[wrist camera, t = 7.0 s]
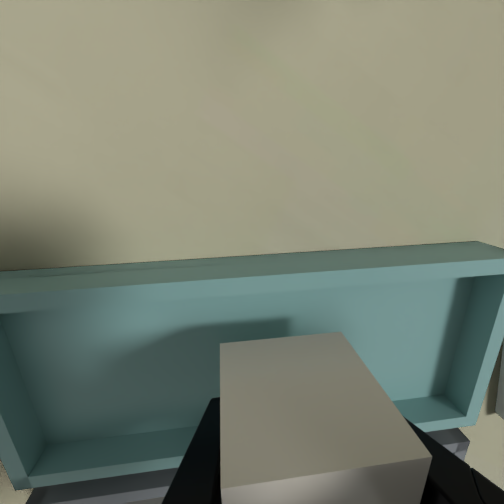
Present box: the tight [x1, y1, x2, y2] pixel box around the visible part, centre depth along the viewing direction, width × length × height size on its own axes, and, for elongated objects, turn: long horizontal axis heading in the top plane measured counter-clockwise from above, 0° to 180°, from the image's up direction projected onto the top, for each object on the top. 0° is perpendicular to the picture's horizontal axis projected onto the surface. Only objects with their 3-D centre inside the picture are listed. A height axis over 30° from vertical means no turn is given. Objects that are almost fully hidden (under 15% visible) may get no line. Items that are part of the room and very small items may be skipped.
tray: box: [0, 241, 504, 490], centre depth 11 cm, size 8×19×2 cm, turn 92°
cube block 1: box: [220, 332, 432, 504], centre depth 7 cm, size 4×4×4 cm
